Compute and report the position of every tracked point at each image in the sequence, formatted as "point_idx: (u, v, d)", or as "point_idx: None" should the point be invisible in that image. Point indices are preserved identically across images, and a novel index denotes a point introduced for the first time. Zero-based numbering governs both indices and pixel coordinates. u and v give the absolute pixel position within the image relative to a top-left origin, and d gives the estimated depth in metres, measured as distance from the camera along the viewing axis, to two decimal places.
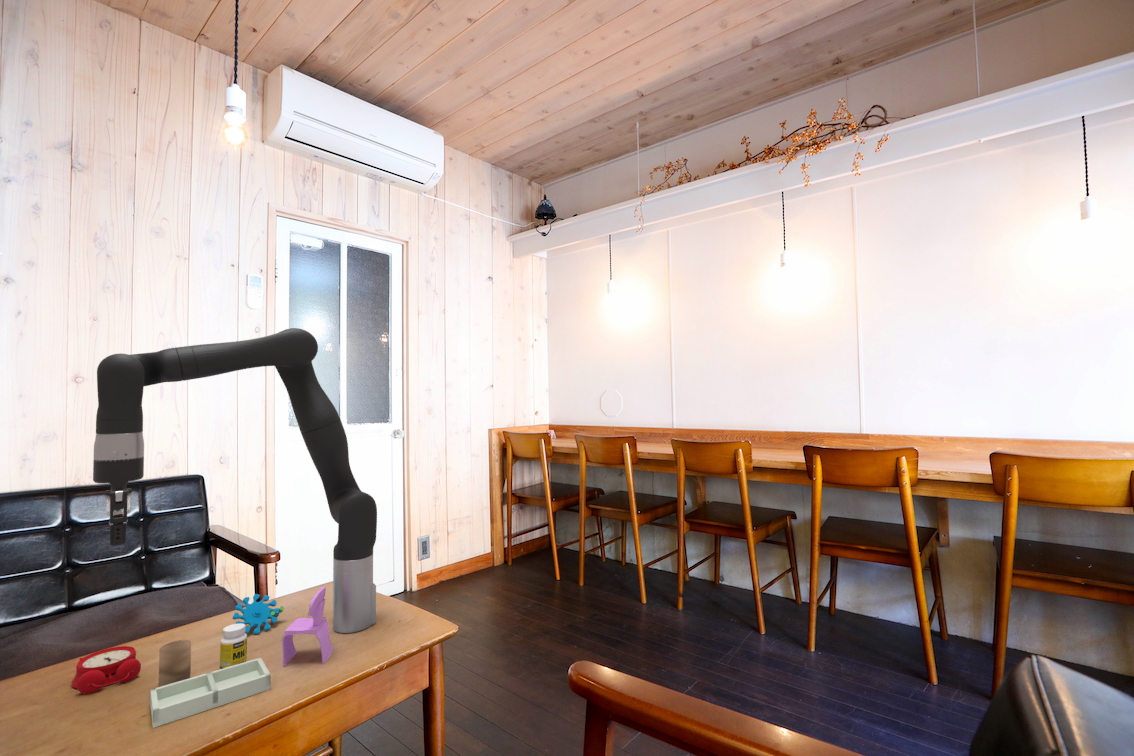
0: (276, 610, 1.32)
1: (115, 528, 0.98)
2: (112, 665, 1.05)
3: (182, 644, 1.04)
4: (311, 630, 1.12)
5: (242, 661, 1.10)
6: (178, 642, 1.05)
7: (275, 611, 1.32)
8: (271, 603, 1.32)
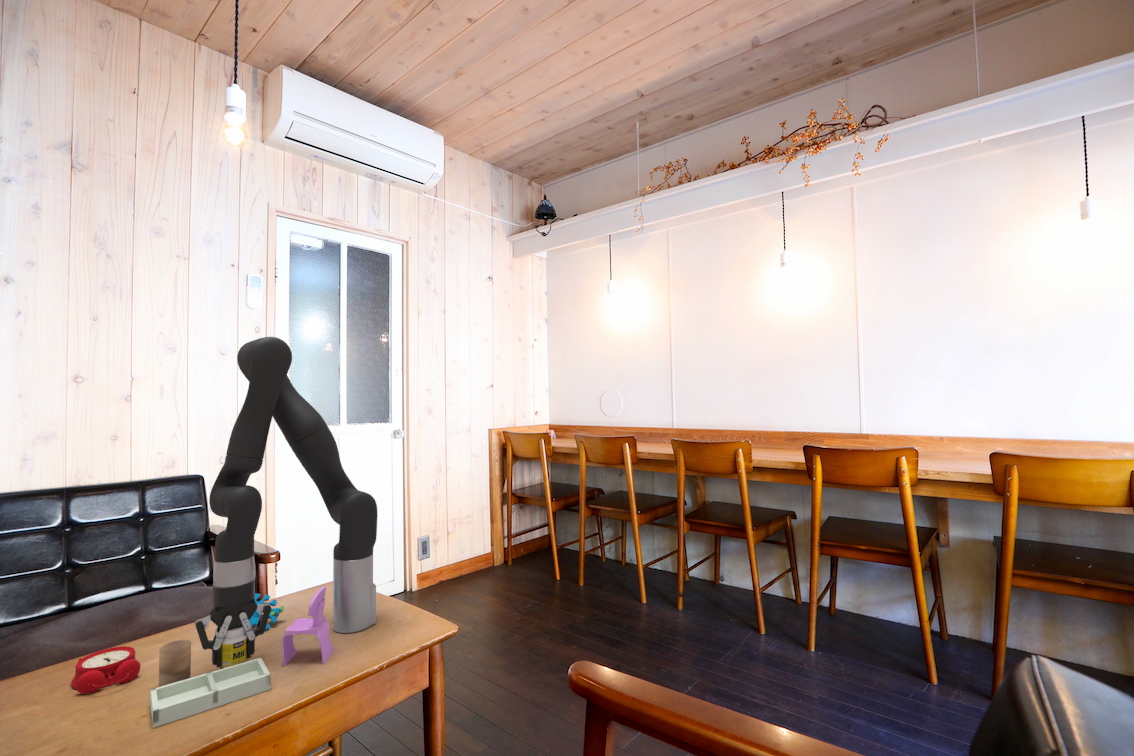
0: (276, 610, 1.32)
1: None
2: (111, 665, 1.05)
3: (182, 644, 1.04)
4: (311, 630, 1.12)
5: (242, 661, 1.10)
6: (178, 642, 1.05)
7: (275, 611, 1.32)
8: (271, 603, 1.33)
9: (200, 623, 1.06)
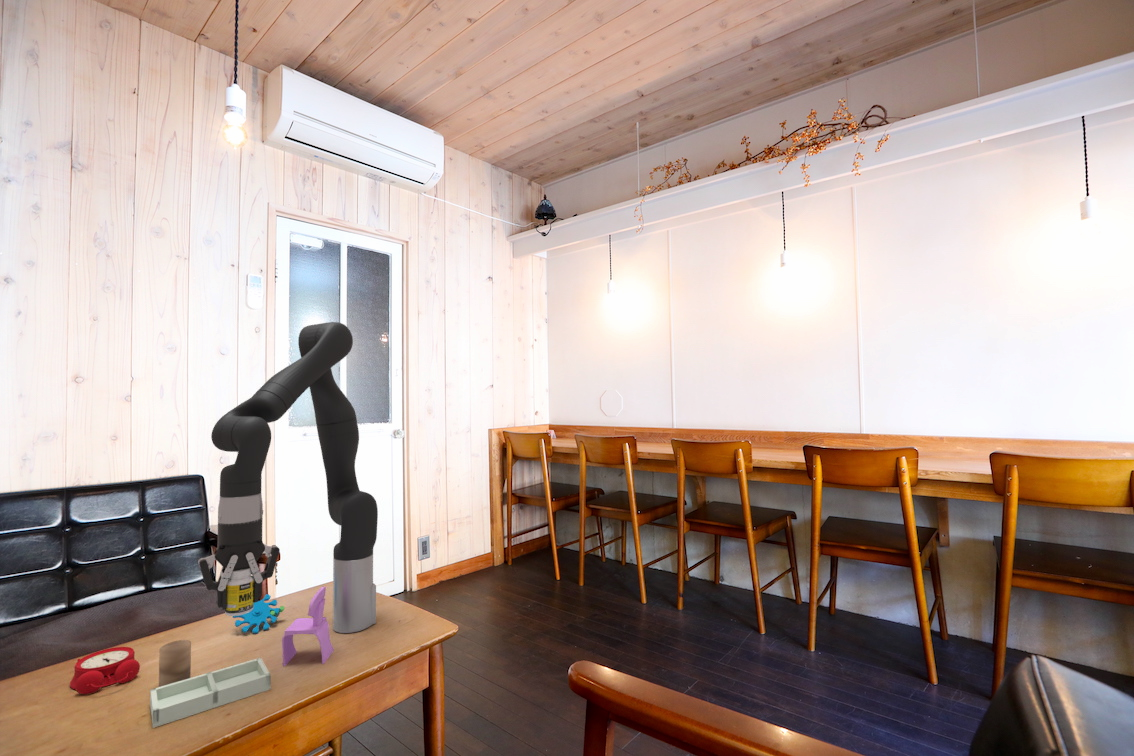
0: (276, 610, 1.32)
1: None
2: (111, 666, 1.05)
3: (182, 644, 1.04)
4: (311, 630, 1.12)
5: (249, 604, 1.03)
6: (178, 642, 1.05)
7: (275, 611, 1.32)
8: (272, 602, 1.33)
9: (204, 561, 0.99)
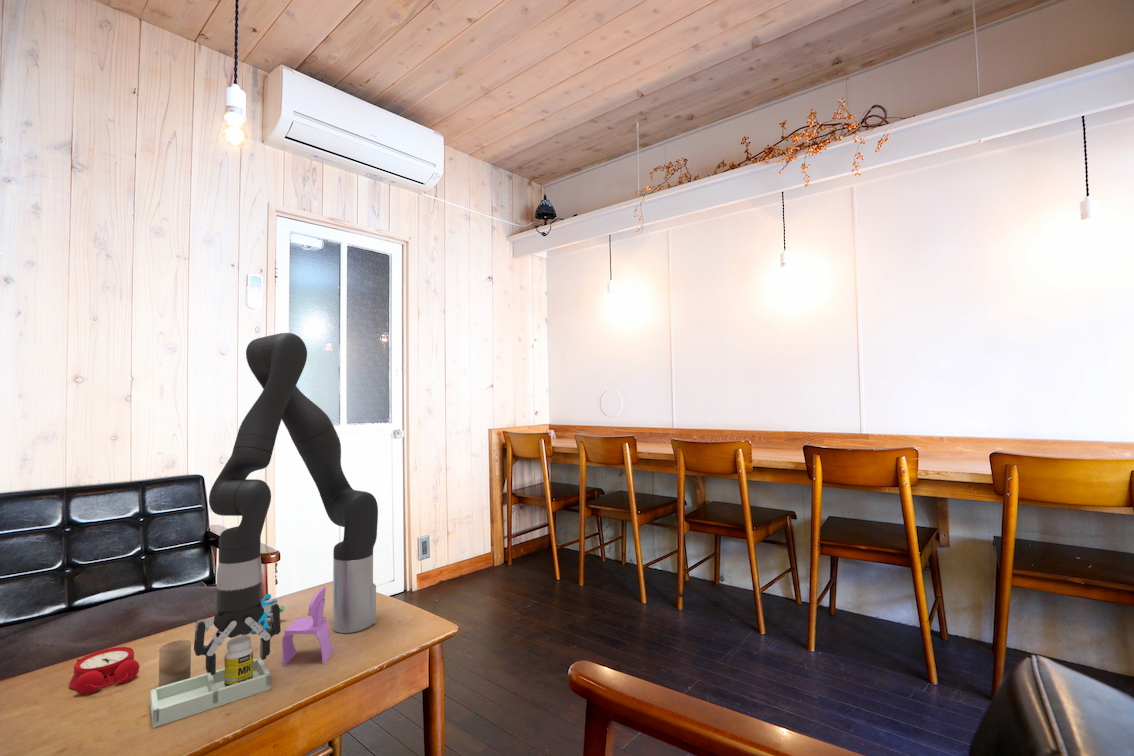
0: None
1: None
2: (110, 666, 1.05)
3: (182, 644, 1.04)
4: (311, 630, 1.12)
5: (248, 676, 1.02)
6: (178, 642, 1.05)
7: None
8: None
9: (203, 624, 0.98)
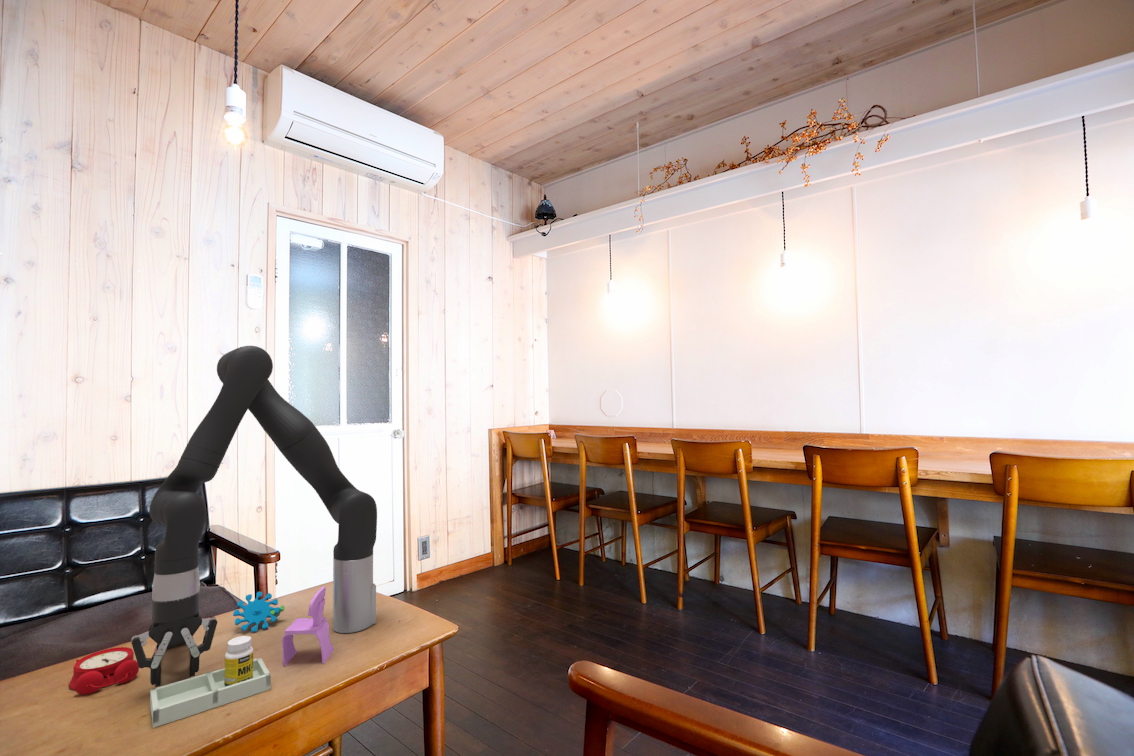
0: (276, 609, 1.32)
1: None
2: (110, 666, 1.05)
3: None
4: (311, 630, 1.12)
5: (248, 677, 1.02)
6: None
7: (275, 610, 1.32)
8: (272, 602, 1.33)
9: (136, 640, 0.99)
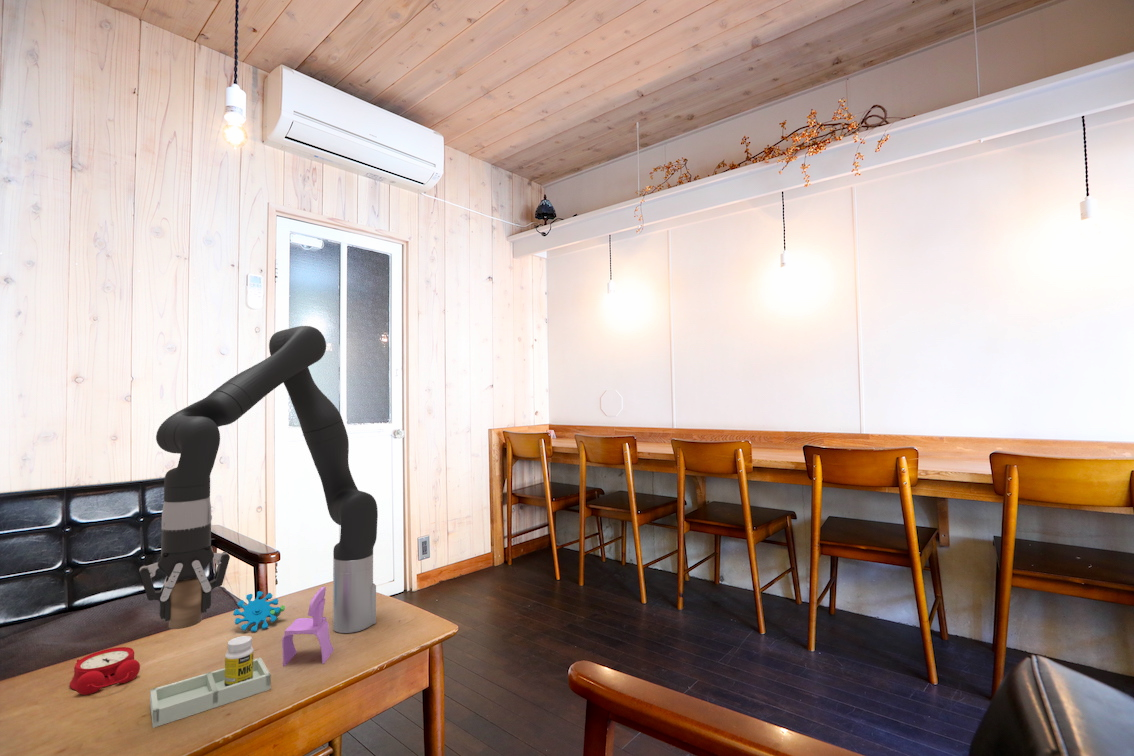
0: (276, 609, 1.33)
1: None
2: (111, 666, 1.05)
3: (193, 578, 0.99)
4: (311, 630, 1.12)
5: (248, 677, 1.02)
6: None
7: (275, 610, 1.32)
8: (273, 601, 1.34)
9: (145, 570, 0.93)
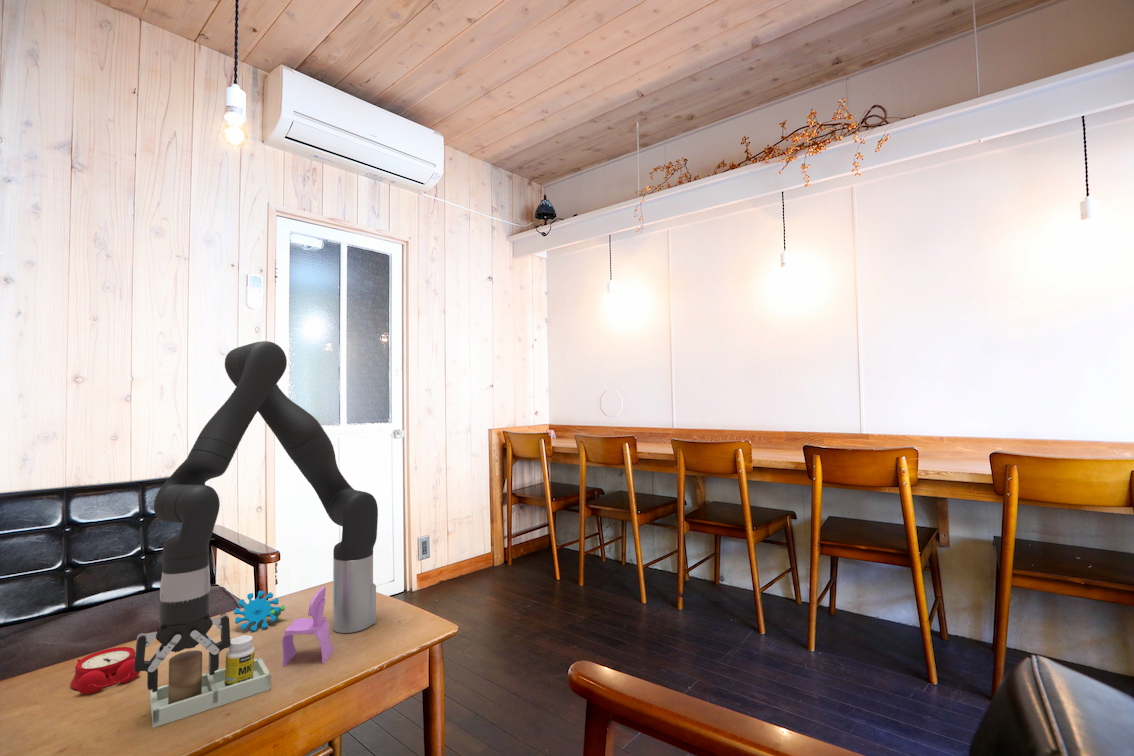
0: (277, 609, 1.33)
1: None
2: (112, 666, 1.05)
3: (193, 655, 0.98)
4: (311, 630, 1.12)
5: (248, 677, 1.02)
6: (188, 653, 0.99)
7: (275, 609, 1.32)
8: (273, 601, 1.34)
9: (143, 638, 0.93)
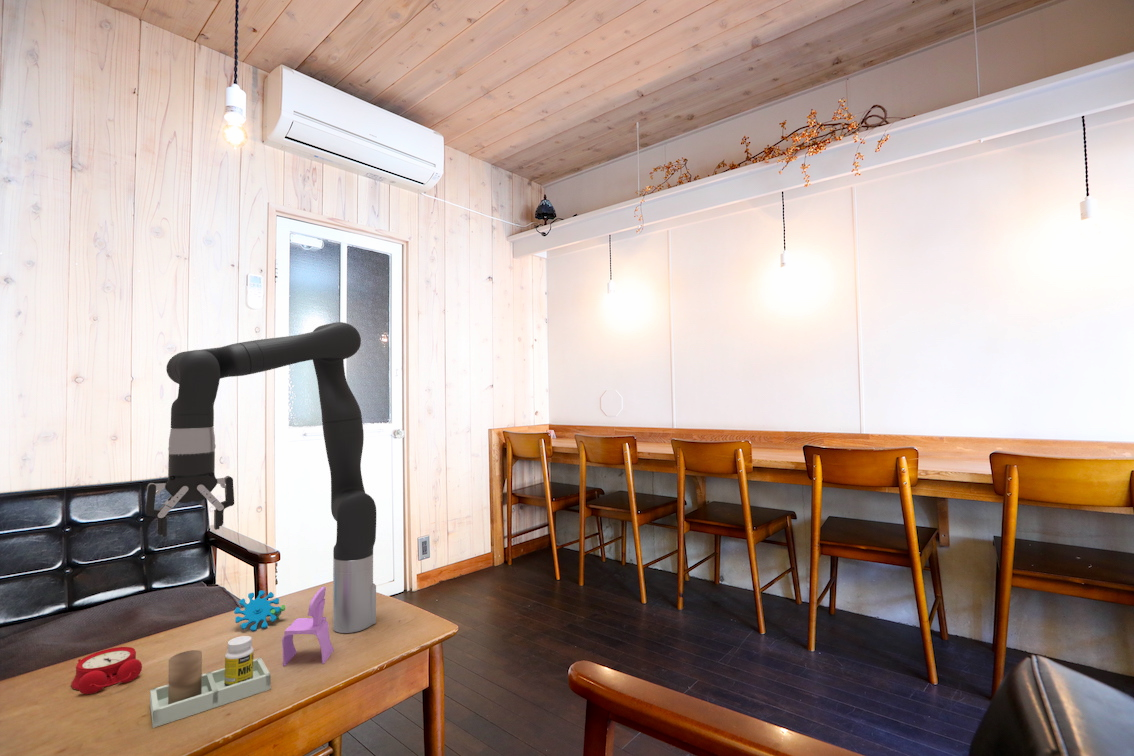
0: (277, 608, 1.33)
1: None
2: (113, 665, 1.05)
3: (192, 654, 0.98)
4: (311, 630, 1.12)
5: (248, 677, 1.02)
6: (188, 652, 0.99)
7: (276, 609, 1.33)
8: (274, 601, 1.34)
9: (153, 486, 1.00)
